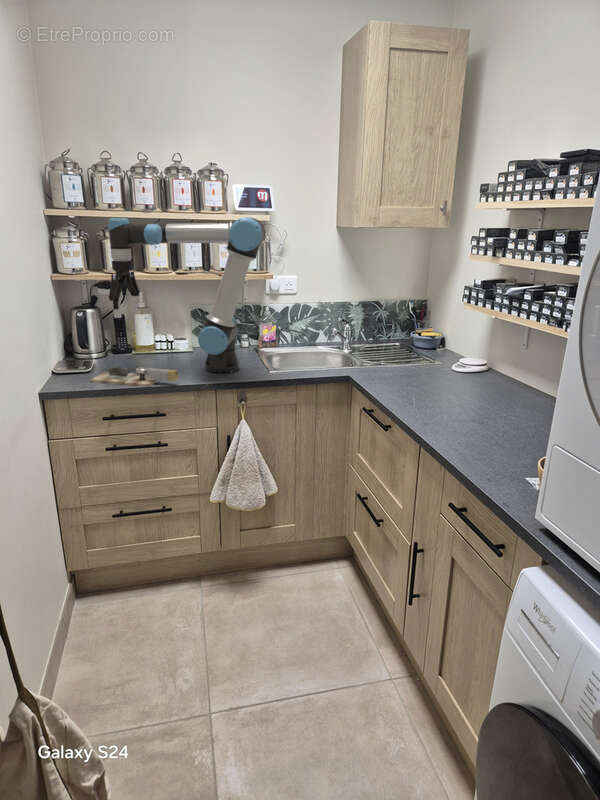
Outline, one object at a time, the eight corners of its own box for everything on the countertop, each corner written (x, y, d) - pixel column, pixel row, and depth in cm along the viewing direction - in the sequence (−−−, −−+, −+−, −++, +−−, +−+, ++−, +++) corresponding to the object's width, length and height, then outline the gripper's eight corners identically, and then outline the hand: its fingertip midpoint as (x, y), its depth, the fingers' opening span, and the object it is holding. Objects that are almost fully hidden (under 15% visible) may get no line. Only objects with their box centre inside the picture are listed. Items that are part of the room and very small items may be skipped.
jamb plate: (159, 379, 217) (159, 370, 215) (149, 386, 207) (149, 377, 206) (135, 377, 218) (135, 369, 217) (124, 384, 208) (124, 375, 207)
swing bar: (134, 378, 210) (133, 369, 209) (139, 375, 214) (138, 366, 213) (174, 381, 208) (174, 372, 207) (178, 378, 212) (178, 369, 211)
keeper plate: (138, 376, 220) (137, 366, 218) (124, 384, 208) (124, 374, 207) (105, 373, 221) (104, 364, 220) (90, 382, 210) (89, 372, 209)
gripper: (128, 257, 222) (132, 309, 229) (95, 262, 199) (101, 319, 206) (145, 258, 221) (149, 310, 228) (114, 262, 198) (119, 320, 205)
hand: (126, 314), depth 217 cm, fingers open, 13 cm apart
